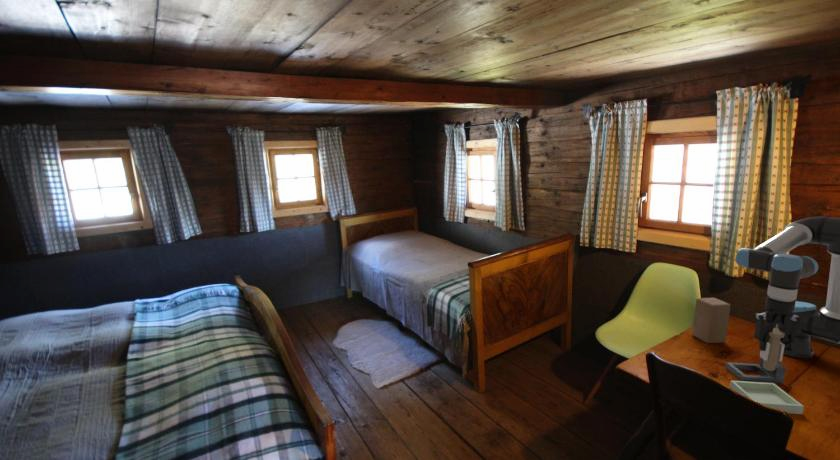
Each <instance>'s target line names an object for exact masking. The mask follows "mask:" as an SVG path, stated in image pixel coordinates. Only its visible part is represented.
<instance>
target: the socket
mask: <svg viewBox="0 0 840 460" xmlns="http://www.w3.org/2000/svg"><path fill="white" fill-rule="evenodd" d="M763 364H764V363H763V359H762V358H761V357H760V361H759V364H758V363H746V362H729V361H727V362H726V361H725V369H727V370H728V371H729V372H730V373H731V374H732V375H734V376H735V377H736V378H737V379H738V380H739V381H748V382H763V383H774V384H775V385H777V384H781V385H783V384H784V382H785V375H786V371H787V367H786V366H785V365H783V364H782V363H780V361H777V365H776V368H775V370H773V371H770V370H766V369H765V368H763ZM743 371H747V372H749V371H751V372H756V373H757V374H758V375H754V374H753V375H752V374H746V373H744V372H743Z"/></svg>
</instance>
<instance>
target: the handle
mask: <svg viewBox="0 0 840 460" xmlns="http://www.w3.org/2000/svg"><path fill="white" fill-rule="evenodd" d="M784 335H785V333H783V332H782V331H780V330H779V329H778V328H776V327H774V329H773V331H772V332H769V336H770V338H769V341H768V343H770V348H769V354H768V360H767V361H766V360H764V359H763V363H764V364H763V368H765V369H766V370H770V371H773V370H775V368H776V365H777V362H779V361H778V356H779V346H780V338H783V337H784Z"/></svg>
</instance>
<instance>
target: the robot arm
mask: <svg viewBox="0 0 840 460" xmlns="http://www.w3.org/2000/svg"><path fill="white" fill-rule="evenodd" d="M806 244H813V245H814V244H816V245H821V246H826V252H827V253H829V254H830V255H831V260H830V265H829V266H830V267H829V268H830V269H829V277H828V284H827V295H826V300H825V301H826V302H825V306H823V307H821V308H820V309H817V305H816V304H814V303H810V302H804V301H798V300H797V296H798V292H799V291H798V290H799V284H800V280H801V279H805V278H809V277H812V276H813V275H815V274H816V273H817V272H818V270H819V263H818V262H817V261H816V260H815V259H814V258H812V257H811V256H807V255H795V254H791V253H790V254H788V253H789V252H791V251H792V250H794V249H796V248H797V247H798V246H804V245H806ZM735 263H736V264H737V266H740V267H743V268H747V269H751V270H756V271H763V272H766V273H770V274H769V282H768V286H767V290H766V291H767V293H766V294H767V295H766V296H765V304H764V306H765V309H764V310H763V312H761V313H758V312H755V313H754V317H755V326H754V328H755V329H754V335H753V337H754V339H756V340H757V341H759V344H758V345H759V346H758V348H759V349H758V350H760V353H759V357H760V358H762V359H764V360H766V361H767V360H768V354H769V348H770V343H768V341H769V338H770V336H769V332H772V331H773V329H774V328H778V329H779V330H780V331H782V332H783V333H785V335H784V337H783V338H780V346H779V356H778V361H777V362H782V361H783V357H784V356H787V357H791V358H796V359H797V358H798V359H811V358H813V355H814V349H813V345H812V341H811V336H813V337H816V338H819V339H823V340H826V341H829V342H832V343H835V344H837V345H840V217H834V216H833V217H831V216H811V217H805V218H802V219H799V220H795V221H793V222H790V223H789V224H787V225H785V226H784V227H783V229H782V231H780V232H778V233H777V234H775V235H774V236H772V237H770V238H769V239H767V240H766V241H764V242H762V243H761V244H759V245H757V246H756V247H754V248H749V247H747V248H746V247H741V248H740V249H739V250H738V251H737V253H736V254H735Z"/></svg>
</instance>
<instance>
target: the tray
mask: <svg viewBox="0 0 840 460" xmlns="http://www.w3.org/2000/svg"><path fill="white" fill-rule="evenodd" d="M730 388H731V389H732V391H733V390H734V391H736V392H738V393H740V394H741V395H743V396H746V397H748V398H749V399H751V400H753V401H755V402H758V403H760V404H762V405H764V406H767V407H770V408H774V409H779V410H782V411H785V412H787V413H786V414H794V415H803V412H804V407H805V406H804V405H803V404H801V403H800V402H799V401H798V400H796V399H795V398H794V397H793V396H791V395H789V394H788V393H787V392H786V391H785V390H783V389H782V388H781V387H779V385H777V384H774V383H763V382H748V381H741V380H730V381H729V389H730ZM731 389H730V390H731ZM734 391H733V392H734Z"/></svg>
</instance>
